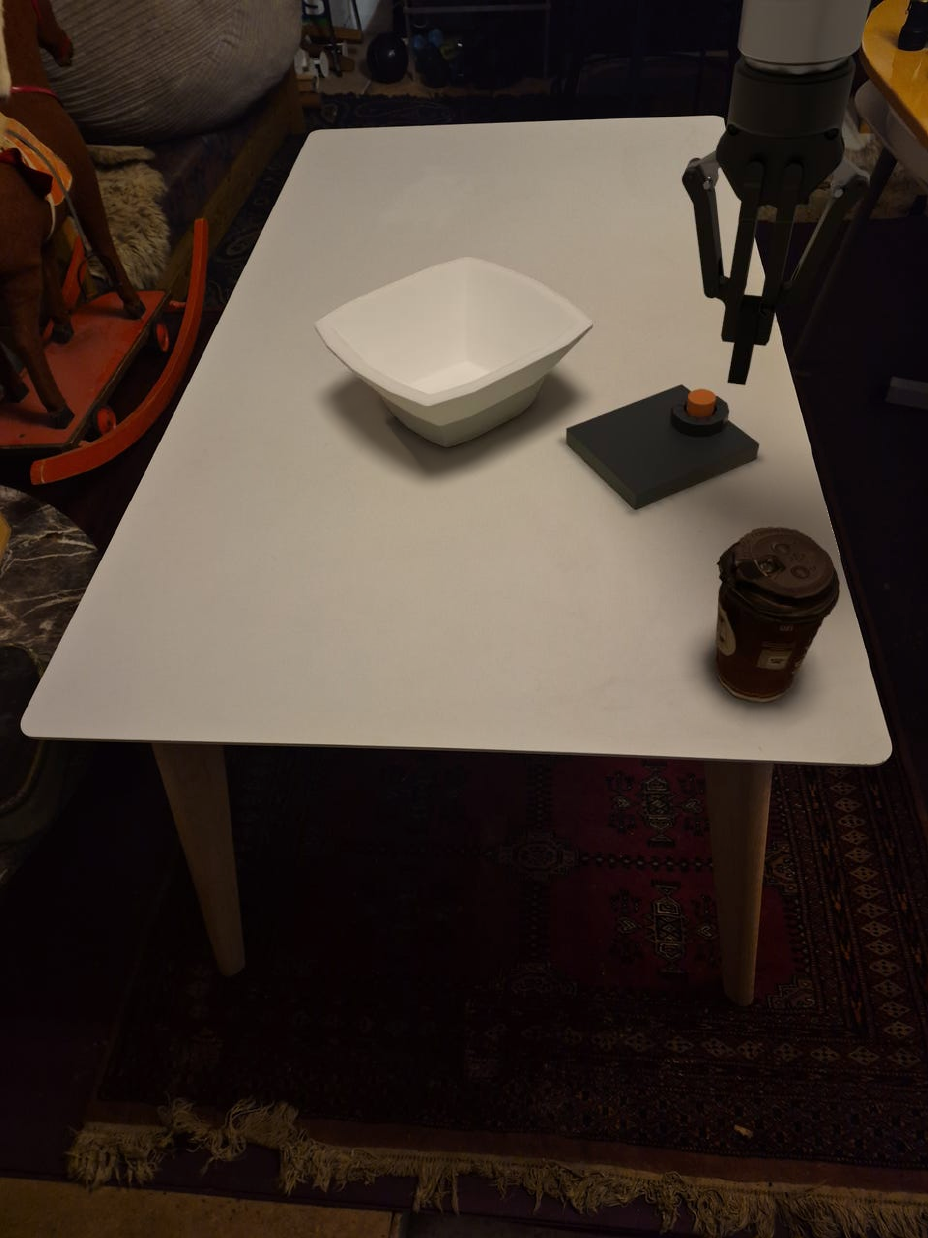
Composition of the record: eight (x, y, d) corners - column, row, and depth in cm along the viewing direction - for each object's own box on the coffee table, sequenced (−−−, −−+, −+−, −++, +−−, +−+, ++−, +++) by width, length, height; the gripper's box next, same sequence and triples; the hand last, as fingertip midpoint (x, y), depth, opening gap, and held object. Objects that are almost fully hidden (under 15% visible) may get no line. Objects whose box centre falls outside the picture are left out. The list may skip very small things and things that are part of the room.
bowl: (610, 402, 97) (614, 318, 89) (431, 501, 88) (419, 417, 80) (479, 324, 111) (473, 246, 103) (313, 402, 102) (293, 323, 94)
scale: (681, 397, 97) (684, 370, 94) (757, 458, 89) (764, 430, 86) (565, 442, 93) (566, 415, 90) (634, 509, 85) (637, 482, 82)
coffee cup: (687, 695, 69) (708, 584, 60) (708, 622, 74) (731, 508, 65) (799, 725, 67) (840, 613, 57) (813, 647, 72) (853, 532, 62)
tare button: (702, 399, 91) (704, 385, 89) (719, 412, 89) (721, 398, 88) (680, 408, 90) (682, 394, 89) (697, 421, 88) (699, 407, 87)
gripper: (907, 38, 56) (823, 360, 73) (704, 36, 59) (670, 343, 77) (903, 76, 51) (815, 410, 69) (683, 71, 55) (652, 389, 72)
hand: (738, 375), depth 73 cm, fingers closed
